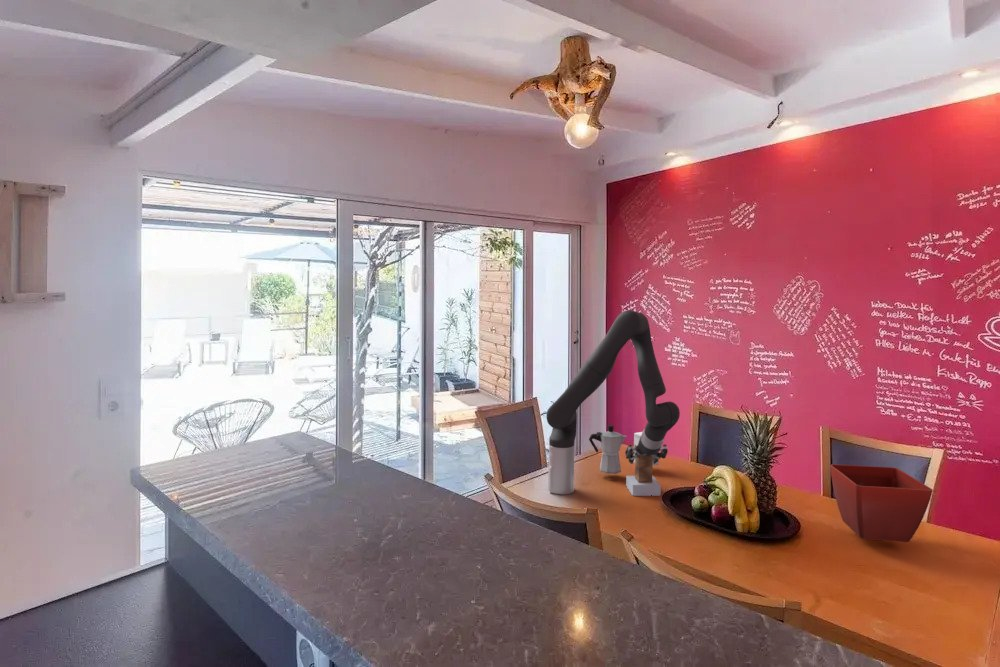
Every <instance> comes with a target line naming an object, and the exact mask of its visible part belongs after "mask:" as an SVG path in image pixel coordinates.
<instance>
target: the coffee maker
mask: <svg viewBox="0 0 1000 667" xmlns="http://www.w3.org/2000/svg"><path fill="white" fill-rule="evenodd" d="M614 427H615V426H614V425H613V424H612V425H611V424H610V425H609V424H608V425H607V431H602V432H601V431H597V432H596V433H592V434H590V436H589V438H588V441H589V442H590V444H591V446H592V447H593V449H594V450H595V452H596V453H598V452H599V449H598V447H597V445H596V444H595V443H594V441H593V440H596V441H598V442H600V447H601V451H602V453H601V459H600V464H599V470H600V472H601V473H605V474H613V475H616V474H619V473H622V466H621V460H620V454H619V452H620V451H621V447H622V446H621V445H622V444H623V443H624V442H625V441H624V440H625V439H626V438H627V437H628V436H627V435H623V434H622V433H619V432H618V431H617V432H616V431H614V429H615V428H614Z"/></svg>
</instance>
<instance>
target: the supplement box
mask: <svg viewBox="0 0 1000 667" xmlns="http://www.w3.org/2000/svg"><path fill="white" fill-rule="evenodd" d="M642 432H643V431H639V432H634V434H633V435H634V436H633V447H636V446H637V445H638V443H639V440H640V437H641V435H642ZM633 455H635V453H634V454H633ZM659 460H660V459H659ZM659 460H658V462H656V464H654V463H653V467H655V466H659ZM633 464H635V459H634V461H633Z"/></svg>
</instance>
